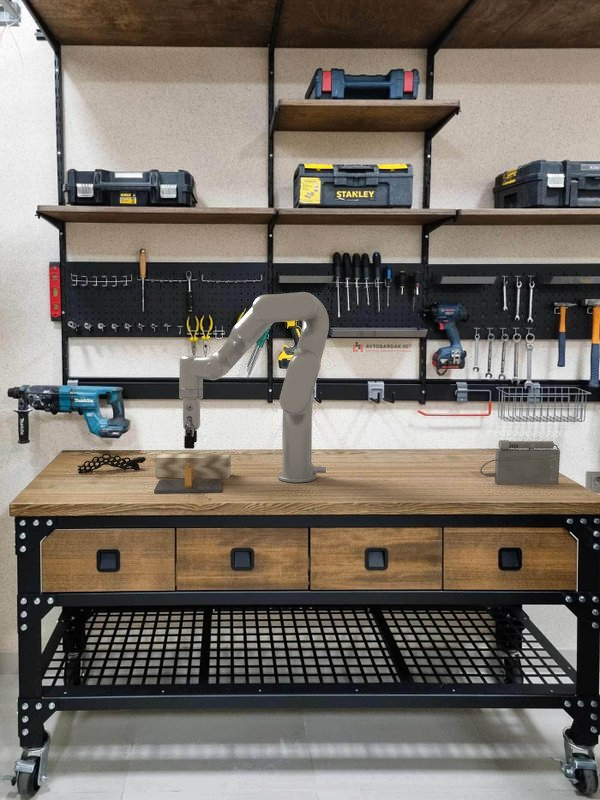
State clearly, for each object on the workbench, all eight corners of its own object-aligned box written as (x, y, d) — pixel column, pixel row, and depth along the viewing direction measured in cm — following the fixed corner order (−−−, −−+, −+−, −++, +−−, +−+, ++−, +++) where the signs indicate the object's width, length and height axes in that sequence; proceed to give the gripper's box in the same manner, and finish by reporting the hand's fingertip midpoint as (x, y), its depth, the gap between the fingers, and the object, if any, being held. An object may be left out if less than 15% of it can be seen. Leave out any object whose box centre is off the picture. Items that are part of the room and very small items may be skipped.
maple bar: (230, 475, 226) (230, 454, 225) (228, 479, 221) (227, 458, 220) (159, 474, 228) (159, 453, 227) (155, 478, 222) (154, 457, 221)
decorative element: (77, 475, 226) (77, 458, 225) (78, 471, 231) (77, 454, 230) (146, 471, 232) (146, 454, 231) (145, 467, 237) (145, 451, 236)
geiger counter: (556, 438, 217) (478, 438, 217) (564, 442, 211) (484, 442, 210) (554, 481, 219) (477, 481, 219) (562, 486, 212) (482, 486, 212)
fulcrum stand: (222, 481, 217) (222, 460, 216) (221, 492, 205) (220, 469, 204) (159, 482, 216) (159, 461, 215) (154, 493, 204) (153, 470, 203)
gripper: (200, 397, 212) (200, 451, 215) (204, 390, 229) (204, 440, 232) (176, 397, 212) (176, 450, 214) (182, 389, 229) (181, 439, 231)
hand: (190, 445), depth 223 cm, fingers open, 9 cm apart
